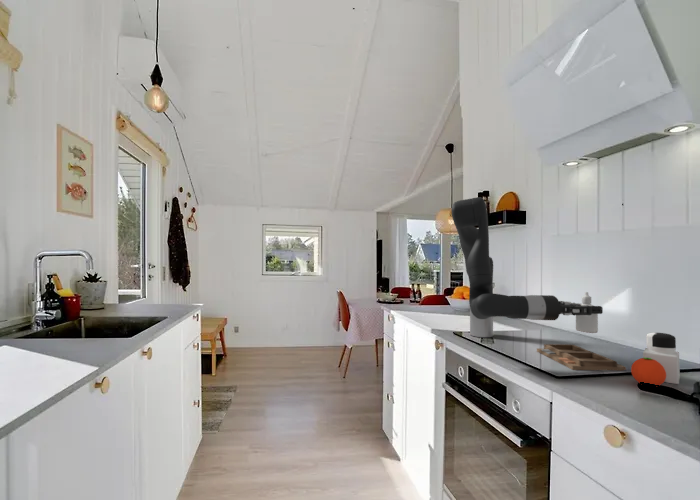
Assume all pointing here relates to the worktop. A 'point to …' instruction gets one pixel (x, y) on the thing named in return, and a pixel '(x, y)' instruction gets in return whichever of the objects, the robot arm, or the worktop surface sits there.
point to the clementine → (648, 371)
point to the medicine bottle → (664, 354)
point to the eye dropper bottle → (587, 318)
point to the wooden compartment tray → (578, 358)
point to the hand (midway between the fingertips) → (595, 308)
